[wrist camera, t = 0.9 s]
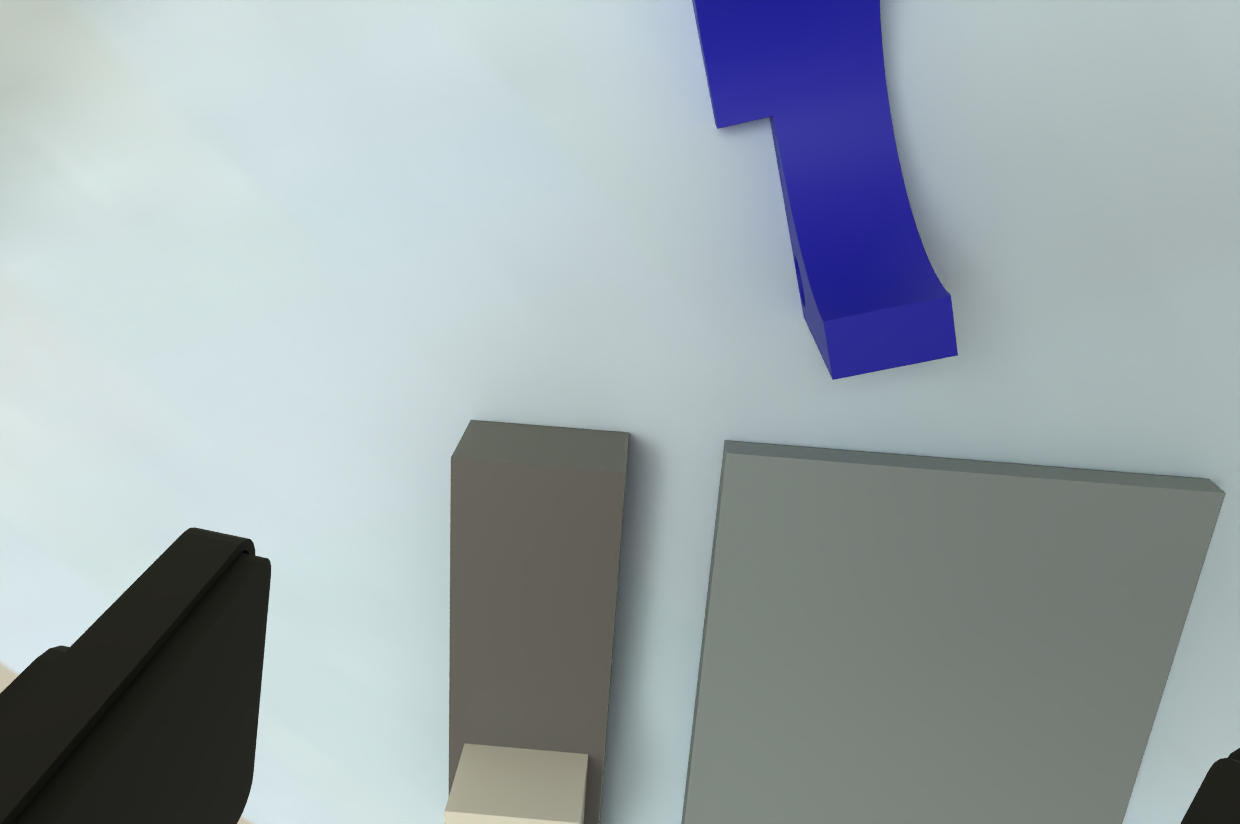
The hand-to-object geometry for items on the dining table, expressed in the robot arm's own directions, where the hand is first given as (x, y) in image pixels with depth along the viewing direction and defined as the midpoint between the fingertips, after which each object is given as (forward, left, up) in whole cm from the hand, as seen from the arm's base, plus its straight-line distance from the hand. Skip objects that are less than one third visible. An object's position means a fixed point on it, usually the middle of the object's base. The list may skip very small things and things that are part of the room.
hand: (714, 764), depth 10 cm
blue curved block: (-3, -5, -22) cm, 22 cm away
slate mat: (-9, +14, -21) cm, 27 cm away
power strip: (+4, +13, -21) cm, 25 cm away
